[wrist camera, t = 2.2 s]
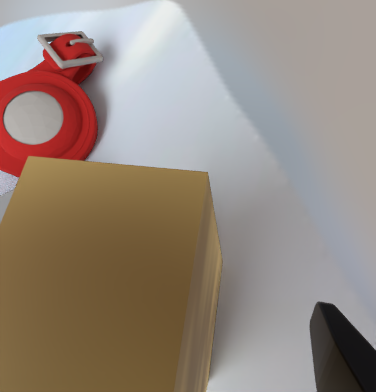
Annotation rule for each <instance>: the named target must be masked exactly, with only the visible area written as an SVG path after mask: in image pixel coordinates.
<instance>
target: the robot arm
mask: <svg viewBox="0 0 376 392" xmlns="http://www.w3.org/2000/svg"><path fill="white" fill-rule="evenodd" d="M310 336H311V345H312V354H313V363H314V372H315V381H316V388H317V392H376V350H375V349H374V348H373V347H372V346H371V345H370V343H369V342H368V341H367V340H366V339H365V338H364V337H363V336H362V335H361V334H360V333H359V331H358V330H357V329H356V328H355V327H354V326H353V325H352V324H351V323H350V322H349V321H348V319H347V318H346V317H345V316H344V315H343V314H342V313H341V312H340V311H339V310H338V308H337V307H336V306H335V305H333V304H331V303H325V302H317V303H316V305H315V307H314V311H313V314H312V317H311V320H310Z"/></svg>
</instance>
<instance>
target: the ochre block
mask: <svg viewBox="0 0 376 392" xmlns="http://www.w3.org/2000/svg"><path fill="white" fill-rule="evenodd" d="M222 262H223V261H222V255H221V249H220V243H219V237H218V231H217V225H216V219H215V213H214V207H213V201H212V195H211V189H210V183H209V177H208V172H201V171H190V170H179V169H167V168H156V167H145V166H134V165H123V164H112V163H101V162H90V161H78V160H67V159H56V158H45V157H34V156H28V158H27V161H26V163H25V165H24V168H23V170H22V173H21V175H20V177H19V180H18V182H17V185H16V187H15V189H14V192H13V194H12V197H11V199H10V202H9V204H8V206H7V209H6V211H5V214H4V216H3V218H2V221H1V223H0V392H206V390H207V385H208V379H209V370H210V362H211V354H212V345H213V337H214V329H215V320H216V312H217V303H218V295H219V287H220V278H221V270H222Z"/></svg>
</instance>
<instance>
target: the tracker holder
mask: <svg viewBox="0 0 376 392" xmlns="http://www.w3.org/2000/svg"><path fill="white" fill-rule="evenodd" d="M37 39H38V41H39V42H40V43H41V44H42V46H43V47H44V50H43V57H44V59H45V60H44V61H43V62H41V63H40V64H38V65H37V66H36V67H34V68H33V69H31V70H29V71H27V72H25V73H21V74H18V75H15V76H12V77H9V78H7V79H5V80H2V81H0V170H1V171H4V172H6V173H9V174H11V175H14V176H16V177H20V175H21V173H22V170H23V168H24V165H25V163H26V161H27V158H28V156H34V157H45V158H56V159H67V160H78V161H84V160H85V159H86V157H87V156H88V155H89V153H90V152H91V150H92V148H93V146H94V144H95V141H96V138H97V130H98V125H97V118H96V113H95V110H94V107H93V105H92V103H91V101H90V99H89V97H88V96H87V94H86V93H85V92H84V91H83V89H82V88H81V87H79V86H78V85H79V84H80V83H81V82H82V81H84V80H85V79H86V78H87V77H88V76H89V75H90V74H91V73H92V71H93V69H94V67H95V65H96V63H97V62H102V61H103V57H102V55H101V54H100V53H99V52H98V50H97V49H96V48H95V46H94V45H93V43H94V40H93V39H88V38H87V36H86V35H85V34H84V33H83V32H82V31H79V32H67V33H55V34H43V35H38V38H37ZM51 41H53V42H51ZM48 42H51V43H50V44H48Z"/></svg>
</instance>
